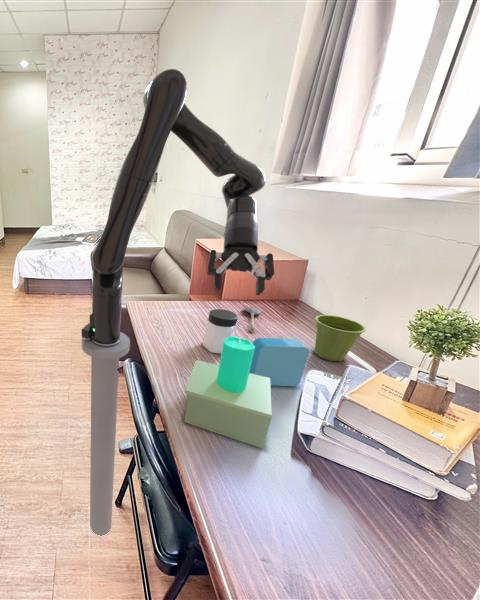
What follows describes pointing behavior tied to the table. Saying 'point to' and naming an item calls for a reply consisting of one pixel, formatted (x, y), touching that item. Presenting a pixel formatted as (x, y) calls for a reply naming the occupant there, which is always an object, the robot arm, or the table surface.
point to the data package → (279, 360)
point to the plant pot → (336, 336)
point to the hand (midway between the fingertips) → (238, 291)
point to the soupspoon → (252, 315)
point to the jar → (219, 329)
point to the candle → (235, 364)
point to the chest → (227, 420)
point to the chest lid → (249, 400)
